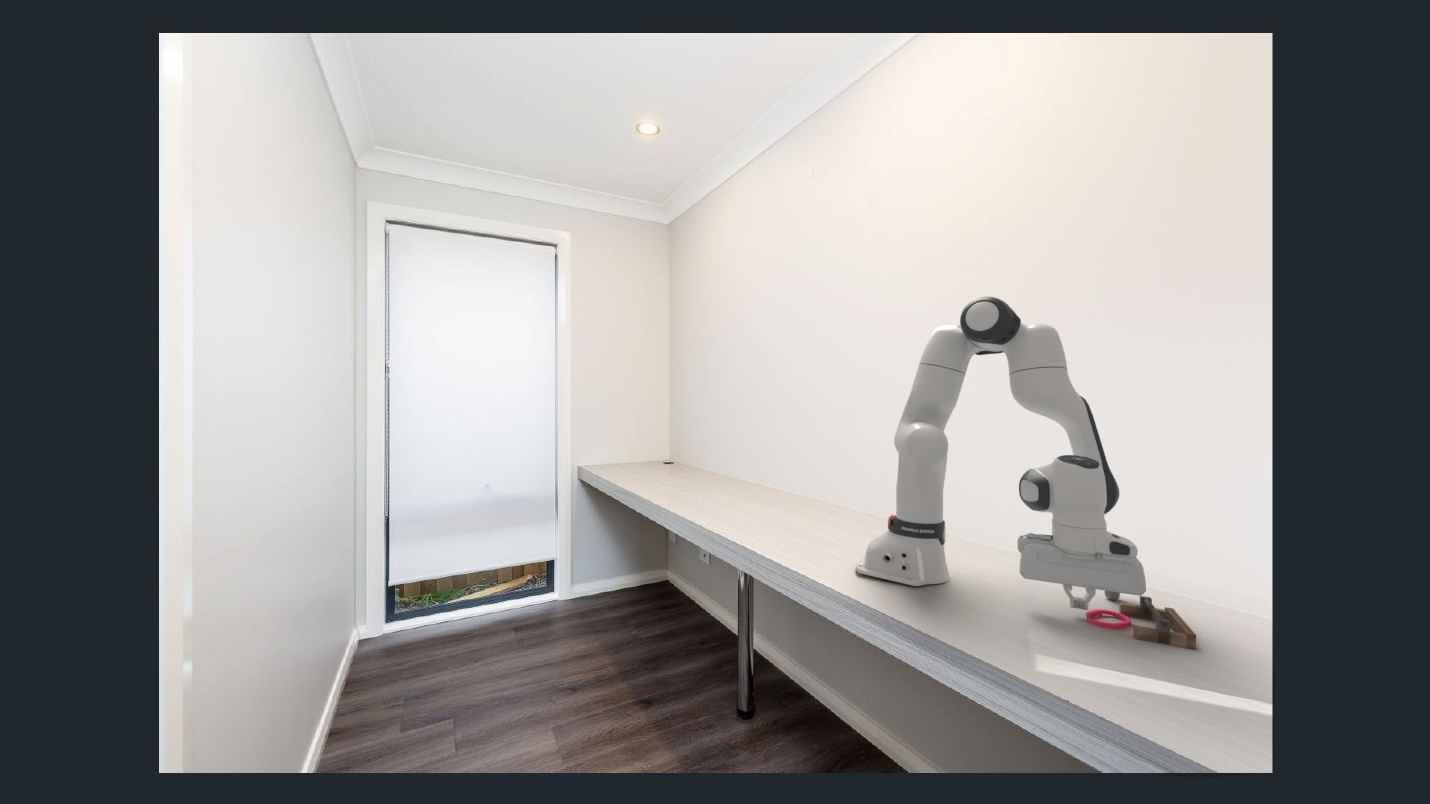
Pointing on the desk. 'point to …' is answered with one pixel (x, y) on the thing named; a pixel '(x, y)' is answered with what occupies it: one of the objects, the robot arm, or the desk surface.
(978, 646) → the desk surface
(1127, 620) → the fitness band
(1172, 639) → the wooden bar clamp
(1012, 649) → the desk surface
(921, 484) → the robot arm
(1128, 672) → the desk surface
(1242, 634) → the desk surface
